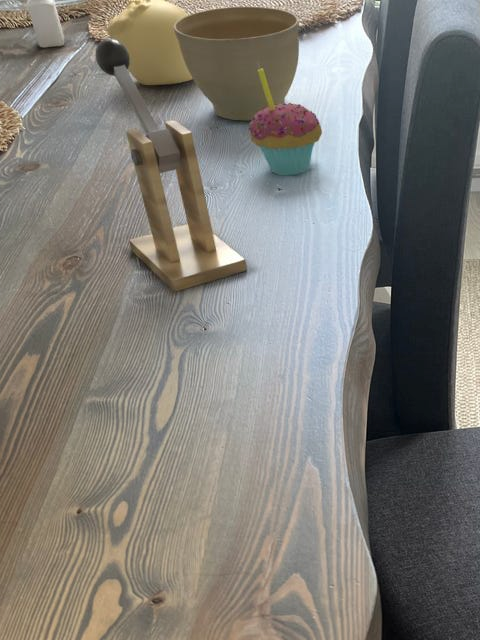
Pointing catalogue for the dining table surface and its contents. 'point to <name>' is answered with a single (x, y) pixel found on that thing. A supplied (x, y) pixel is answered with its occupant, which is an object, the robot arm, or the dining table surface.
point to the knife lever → (137, 102)
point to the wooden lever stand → (187, 240)
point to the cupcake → (285, 134)
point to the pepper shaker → (46, 23)
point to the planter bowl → (240, 56)
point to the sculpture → (151, 41)
